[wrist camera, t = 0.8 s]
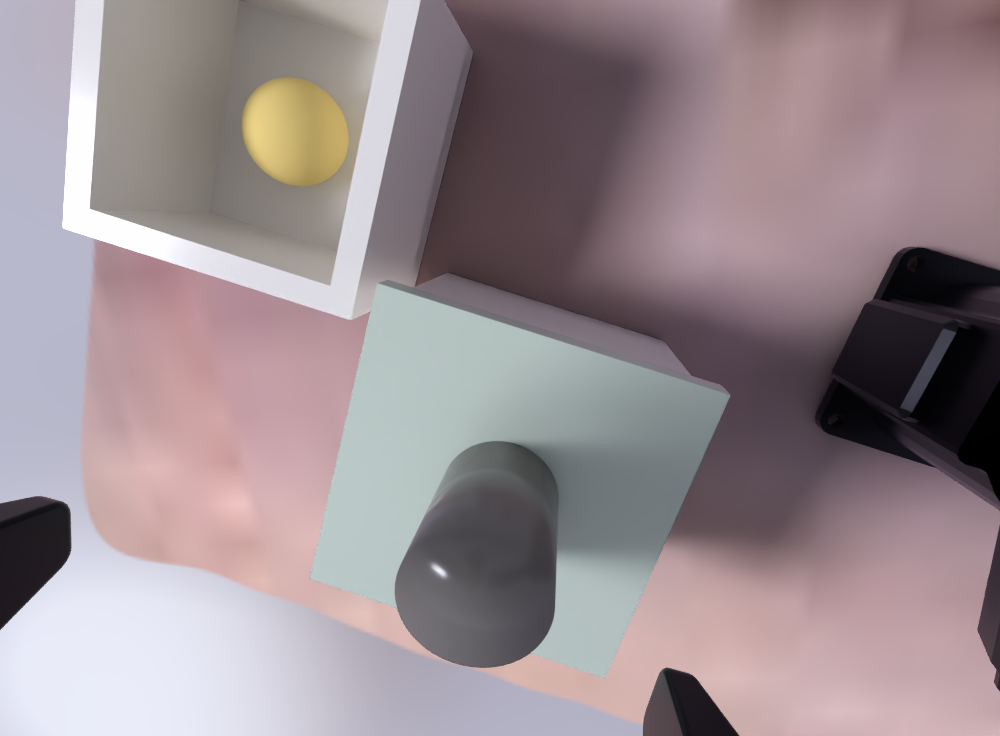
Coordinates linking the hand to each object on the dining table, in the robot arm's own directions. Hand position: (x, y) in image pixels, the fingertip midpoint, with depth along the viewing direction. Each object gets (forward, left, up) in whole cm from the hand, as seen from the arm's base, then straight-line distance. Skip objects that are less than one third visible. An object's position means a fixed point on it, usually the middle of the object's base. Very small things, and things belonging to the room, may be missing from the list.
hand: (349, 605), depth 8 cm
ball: (+7, -6, -12) cm, 15 cm away
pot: (+7, -6, -13) cm, 16 cm away
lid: (-2, +1, -7) cm, 7 cm away
